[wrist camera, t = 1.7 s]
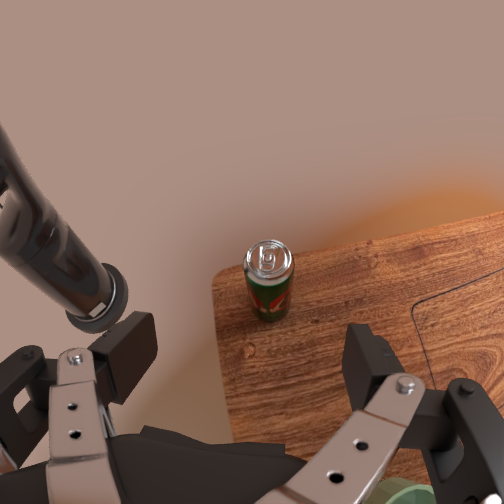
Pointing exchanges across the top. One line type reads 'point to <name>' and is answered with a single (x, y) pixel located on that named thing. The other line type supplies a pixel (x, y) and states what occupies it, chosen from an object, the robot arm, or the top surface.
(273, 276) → the soda can
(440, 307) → the top surface
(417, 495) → the can holder
